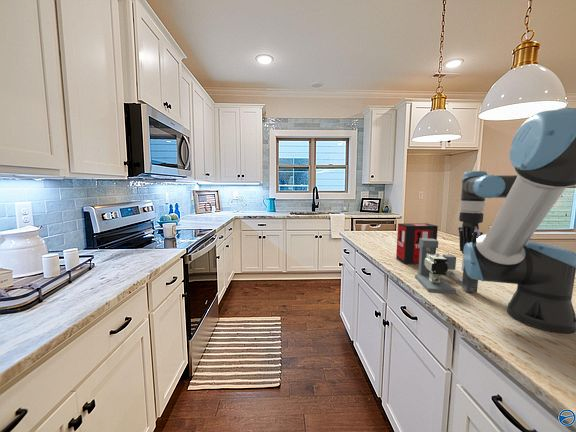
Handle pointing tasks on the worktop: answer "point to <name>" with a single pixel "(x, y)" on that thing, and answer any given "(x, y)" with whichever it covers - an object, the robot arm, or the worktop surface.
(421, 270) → the press
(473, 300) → the worktop surface
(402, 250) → the cleaning product box
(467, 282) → the lever
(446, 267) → the pneumatic valve
